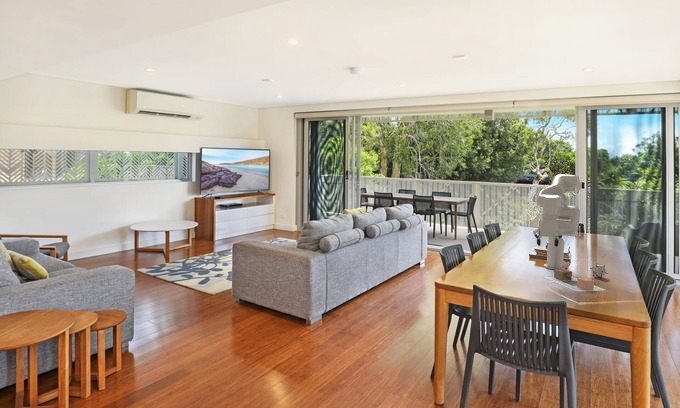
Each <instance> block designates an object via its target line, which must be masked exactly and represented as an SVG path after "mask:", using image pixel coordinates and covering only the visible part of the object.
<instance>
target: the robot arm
mask: <svg viewBox="0 0 680 408" xmlns="http://www.w3.org/2000/svg"><path fill="white" fill-rule="evenodd" d="M581 189H582V182H581V180H580V178H579V177H578V176H577V175H575V174H557V175H555V176H554V177H553V178H552V181H551V184H550V186H547V187H545V188H543V189H541V190H540V192H539V194H538V195H537V199H536V204H537V206H538V207H540V208H542V212H541V213H542V215H541V218H540V220H539V224H538V229H534V230H533V231H532V234H533V235H534V237H535V238H536V245H537V247H541V242H542V241H541V238H543V237H547V251H546V253H547V254H546V263H544V264H543V267H544V268H546V269H550V270H555V269H566V266H570V265H571V263H570V261H565V260H564V254H565V240H564V238H563V237H564V236H567V237H574V236H577V234H578V231H579V227H580V226H579V225H580V217H581V210H580V208H579V207H578V206H575V205H569V202H570V200H569V197H568V196H567V195H566V194H565V193H579V192H580V190H581Z"/></svg>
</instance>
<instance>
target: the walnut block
mask: <svg viewBox="0 0 680 408" xmlns="http://www.w3.org/2000/svg"><path fill="white" fill-rule="evenodd" d="M553 277H554V278H557V279H559V280H561V281H564V280H572V277H573V271H571V270H569V269H566V268H565V269H554V274H553Z"/></svg>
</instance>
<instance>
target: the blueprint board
mask: <svg viewBox="0 0 680 408" xmlns="http://www.w3.org/2000/svg"><path fill="white" fill-rule="evenodd" d="M543 278H544V279H547V280H550V281H551V282H554V283H556V284H558V285H561V286H563V287H566V288H568V289H570V290H572V291H574V292H599V291H600V292H601V291H606V289H605V288H602V287H599V286H597V285H595V284H594V289H592V290H583V289H581V288H579V287H577V280H578V277H575V276H572V280H564V281H561V280H559V279H557V278H554V276H543Z"/></svg>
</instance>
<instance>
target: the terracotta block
mask: <svg viewBox="0 0 680 408" xmlns="http://www.w3.org/2000/svg"><path fill="white" fill-rule="evenodd" d="M577 279H578V280H577V287H579V288H581V289H583V290H592V289H594V285H595V280H594V279H591V278H589V277H577Z"/></svg>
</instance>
